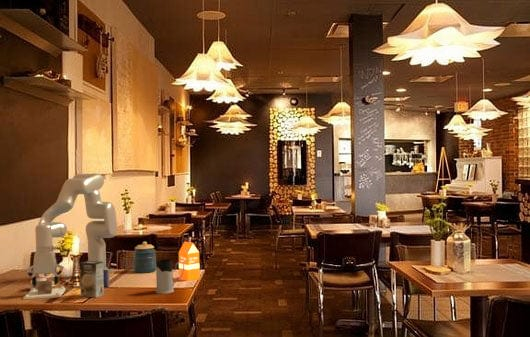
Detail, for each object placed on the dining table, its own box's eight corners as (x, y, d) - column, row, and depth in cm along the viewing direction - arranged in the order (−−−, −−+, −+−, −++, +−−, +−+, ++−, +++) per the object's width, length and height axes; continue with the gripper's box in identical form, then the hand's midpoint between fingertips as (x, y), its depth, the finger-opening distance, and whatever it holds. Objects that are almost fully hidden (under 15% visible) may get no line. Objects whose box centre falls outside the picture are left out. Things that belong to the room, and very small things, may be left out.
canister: (138, 269, 321) (138, 240, 321) (159, 269, 319) (158, 239, 319) (130, 273, 308) (129, 243, 308) (151, 273, 306) (151, 242, 306)
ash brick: (46, 287, 275) (46, 277, 275) (43, 290, 267) (43, 280, 267) (34, 288, 274) (34, 278, 274) (30, 291, 266) (30, 281, 266)
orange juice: (187, 281, 282) (187, 243, 282) (178, 278, 289) (178, 242, 289) (200, 279, 287) (199, 242, 287) (191, 276, 294) (190, 240, 294)
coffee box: (79, 296, 252) (79, 262, 252) (88, 293, 258) (87, 260, 258) (96, 297, 249) (95, 263, 249) (104, 294, 255) (103, 261, 255)
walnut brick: (52, 290, 262) (52, 280, 262) (51, 293, 255) (50, 283, 255) (39, 291, 261) (39, 281, 261) (37, 294, 253) (37, 284, 253)
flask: (110, 286, 274) (110, 265, 274) (106, 287, 271) (106, 266, 271) (96, 285, 277) (95, 264, 277) (92, 286, 275) (91, 265, 275)
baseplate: (65, 290, 267) (65, 286, 267) (59, 297, 251) (59, 293, 251) (31, 292, 264) (31, 288, 264) (23, 299, 248) (23, 295, 248)
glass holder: (154, 290, 261) (153, 260, 261) (182, 287, 267) (181, 257, 267) (157, 294, 253) (157, 262, 253) (187, 291, 259) (186, 260, 259)
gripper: (64, 247, 263) (65, 282, 263) (27, 249, 260) (28, 284, 260) (61, 250, 256) (62, 285, 256) (23, 252, 253) (24, 288, 253)
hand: (45, 285), depth 258 cm, fingers open, 9 cm apart
